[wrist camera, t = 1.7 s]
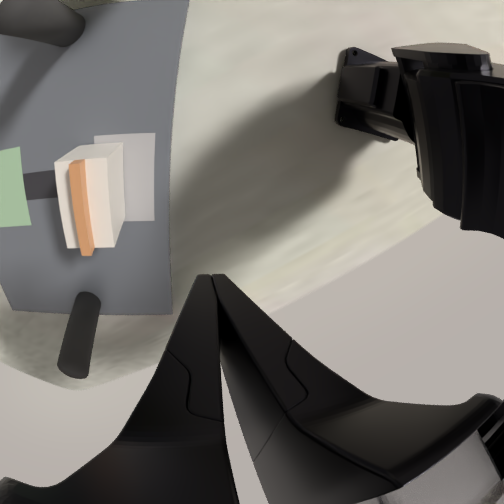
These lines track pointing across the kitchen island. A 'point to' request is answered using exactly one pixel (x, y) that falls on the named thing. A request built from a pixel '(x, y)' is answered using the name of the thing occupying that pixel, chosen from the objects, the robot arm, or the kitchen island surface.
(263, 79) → the kitchen island surface
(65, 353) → the cord post
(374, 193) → the kitchen island surface
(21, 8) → the cord post
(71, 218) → the orange striped block
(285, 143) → the kitchen island surface
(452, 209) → the robot arm
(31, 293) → the panel
